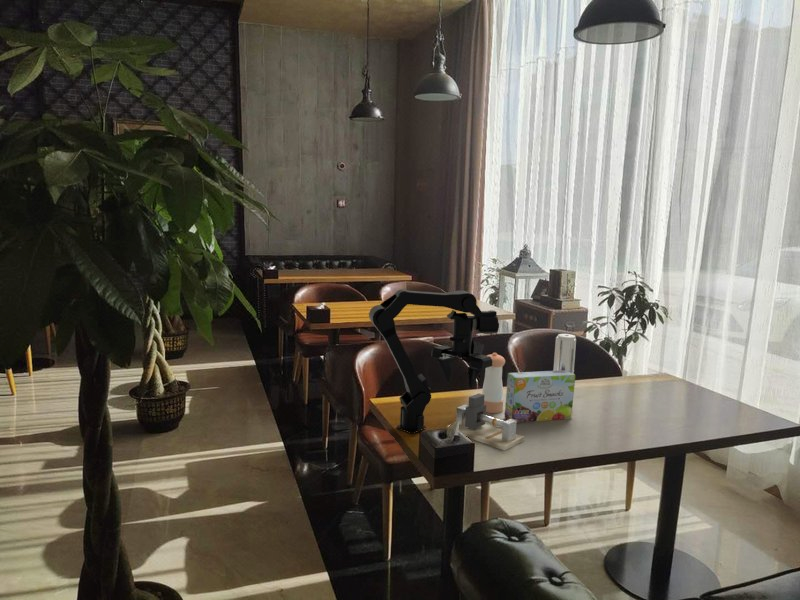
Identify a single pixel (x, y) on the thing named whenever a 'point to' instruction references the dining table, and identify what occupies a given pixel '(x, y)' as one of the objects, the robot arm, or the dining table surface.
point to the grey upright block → (475, 411)
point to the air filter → (565, 352)
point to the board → (490, 436)
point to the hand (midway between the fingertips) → (459, 384)
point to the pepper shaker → (494, 385)
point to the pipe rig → (506, 426)
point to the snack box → (539, 396)
